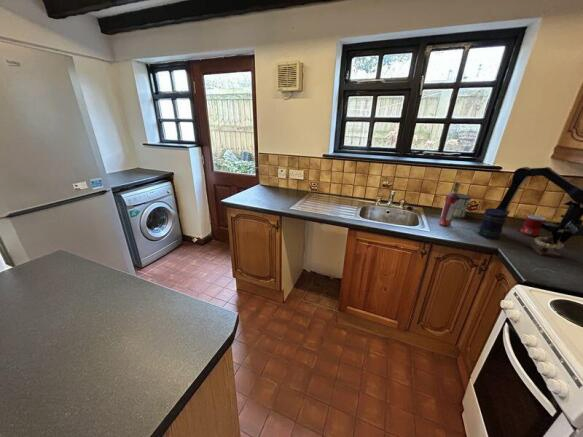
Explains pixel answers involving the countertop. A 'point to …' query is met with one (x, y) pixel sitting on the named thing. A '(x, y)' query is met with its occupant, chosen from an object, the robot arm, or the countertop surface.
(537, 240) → the tape
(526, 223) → the canned food
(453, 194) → the liquor
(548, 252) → the tape post
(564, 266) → the countertop surface
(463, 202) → the coffee can
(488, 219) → the storage jar
